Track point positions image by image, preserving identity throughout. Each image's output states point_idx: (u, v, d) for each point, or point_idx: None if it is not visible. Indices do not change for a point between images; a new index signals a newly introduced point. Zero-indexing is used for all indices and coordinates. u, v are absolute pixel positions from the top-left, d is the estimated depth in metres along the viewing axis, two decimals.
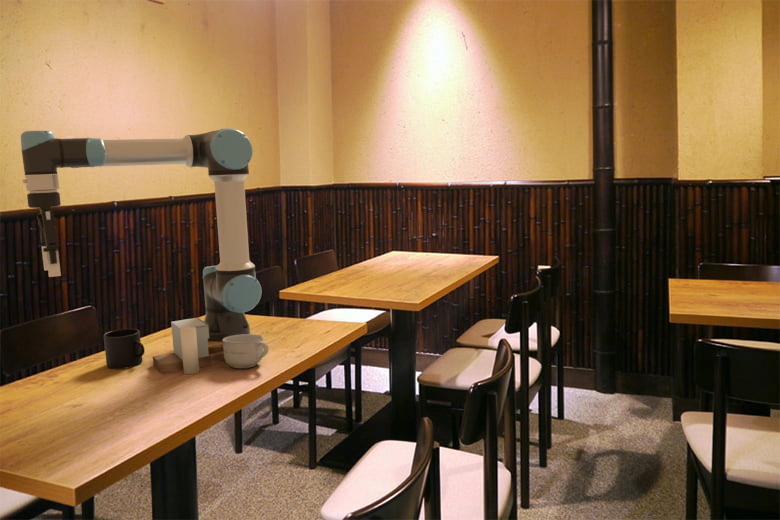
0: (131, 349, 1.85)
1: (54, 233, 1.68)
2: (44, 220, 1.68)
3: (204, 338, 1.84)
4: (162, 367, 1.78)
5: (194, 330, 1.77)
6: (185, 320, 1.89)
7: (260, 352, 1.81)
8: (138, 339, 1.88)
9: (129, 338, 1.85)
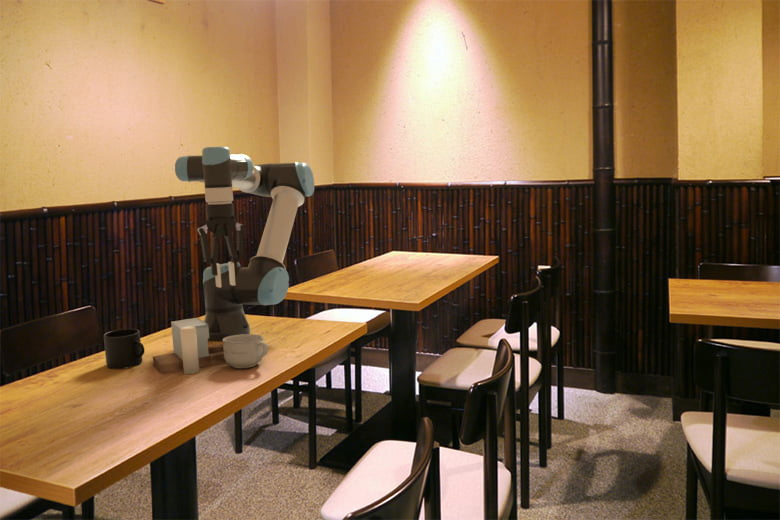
0: (131, 349, 1.85)
1: (204, 249, 1.85)
2: (200, 236, 1.86)
3: (204, 338, 1.84)
4: (162, 367, 1.78)
5: (194, 330, 1.77)
6: (185, 320, 1.89)
7: (260, 352, 1.81)
8: (138, 339, 1.88)
9: (128, 338, 1.85)
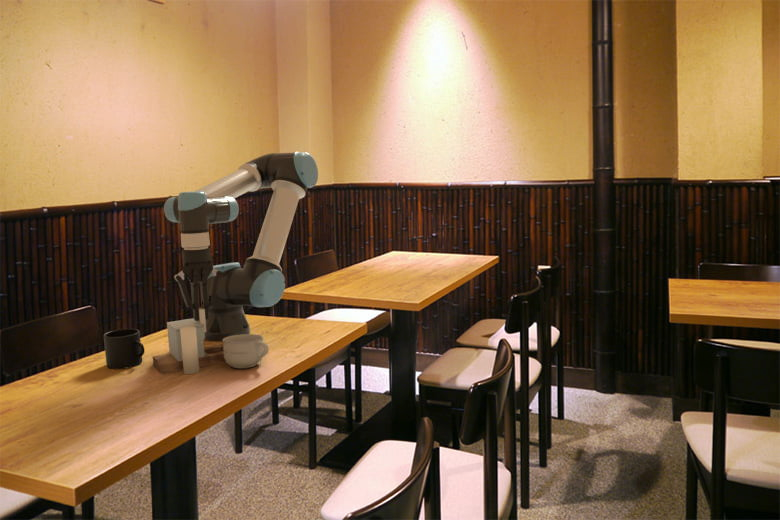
0: (131, 349, 1.85)
1: (184, 296, 1.83)
2: (178, 282, 1.84)
3: (200, 339, 1.83)
4: (162, 367, 1.78)
5: (194, 330, 1.77)
6: (181, 321, 1.88)
7: (260, 352, 1.81)
8: (138, 339, 1.88)
9: (129, 338, 1.85)
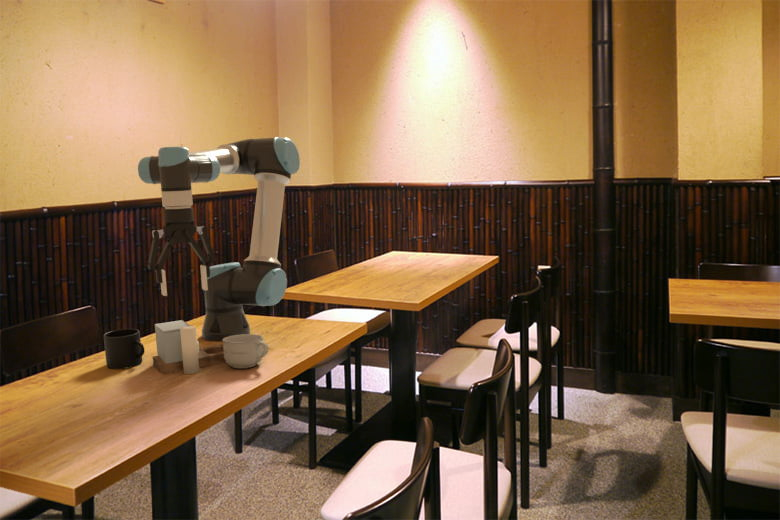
0: (131, 349, 1.85)
1: (151, 253, 1.70)
2: None
3: None
4: (162, 367, 1.78)
5: (194, 330, 1.77)
6: (169, 322, 1.87)
7: (260, 352, 1.81)
8: (138, 339, 1.88)
9: (128, 338, 1.85)
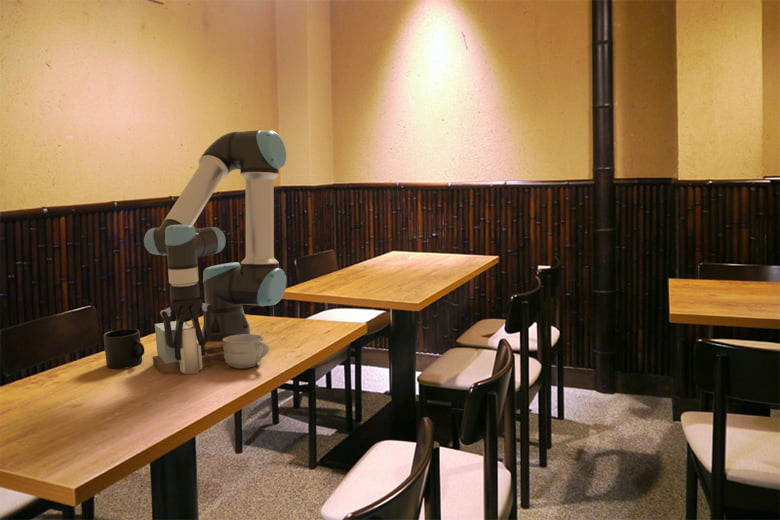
0: (131, 349, 1.85)
1: (166, 333, 1.74)
2: (163, 318, 1.75)
3: None
4: (162, 367, 1.78)
5: (194, 330, 1.77)
6: None
7: (260, 352, 1.81)
8: (138, 339, 1.88)
9: (128, 338, 1.85)
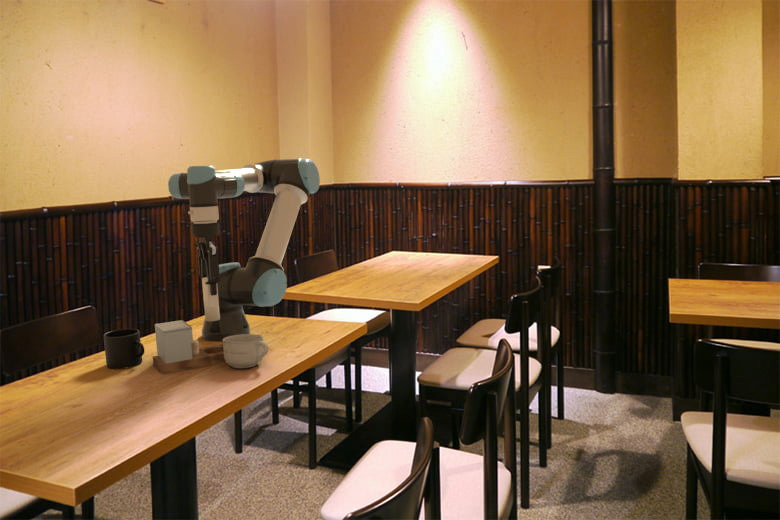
0: (131, 349, 1.85)
1: (217, 268, 1.83)
2: (210, 255, 1.81)
3: (188, 341, 1.81)
4: (162, 367, 1.78)
5: None
6: (169, 322, 1.87)
7: (260, 352, 1.81)
8: (138, 339, 1.88)
9: (128, 338, 1.85)
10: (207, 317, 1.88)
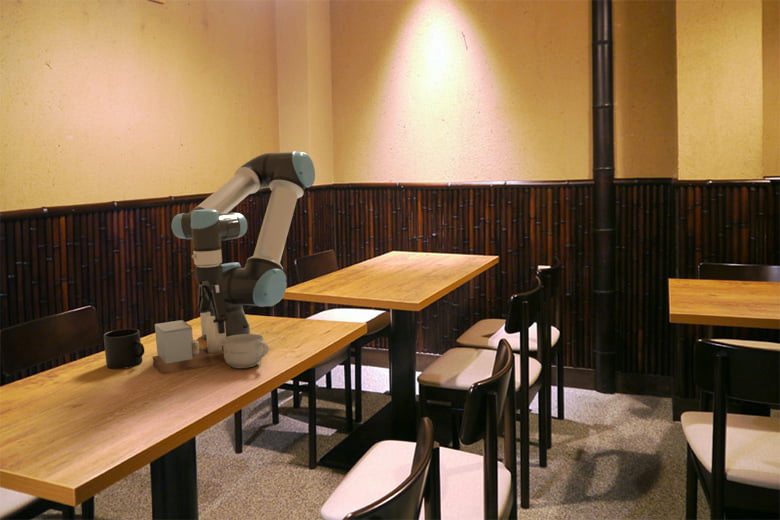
0: (131, 349, 1.85)
1: (223, 305, 1.82)
2: (214, 294, 1.82)
3: (188, 341, 1.81)
4: (162, 367, 1.78)
5: None
6: (169, 322, 1.87)
7: (260, 352, 1.81)
8: (138, 339, 1.88)
9: (129, 338, 1.85)
10: None
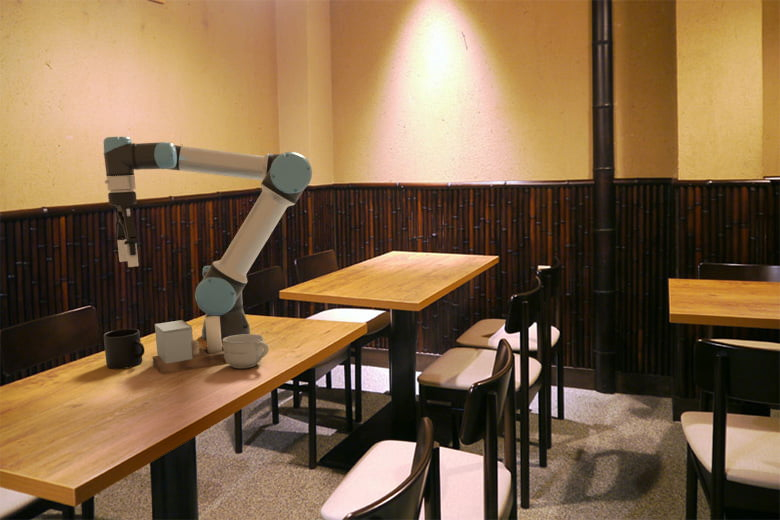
0: (131, 349, 1.85)
1: (134, 228, 1.88)
2: (125, 216, 1.88)
3: (188, 341, 1.81)
4: (162, 367, 1.78)
5: None
6: (169, 322, 1.87)
7: (260, 352, 1.81)
8: (138, 339, 1.88)
9: (128, 338, 1.85)
10: None
